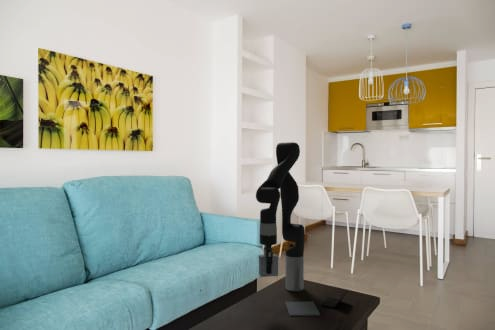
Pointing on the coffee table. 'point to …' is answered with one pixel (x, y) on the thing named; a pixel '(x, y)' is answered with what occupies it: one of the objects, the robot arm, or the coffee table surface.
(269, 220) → the robot arm
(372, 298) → the coffee table surface
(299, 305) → the rubber mat
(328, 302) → the handheld gaming console
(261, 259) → the medicine box
